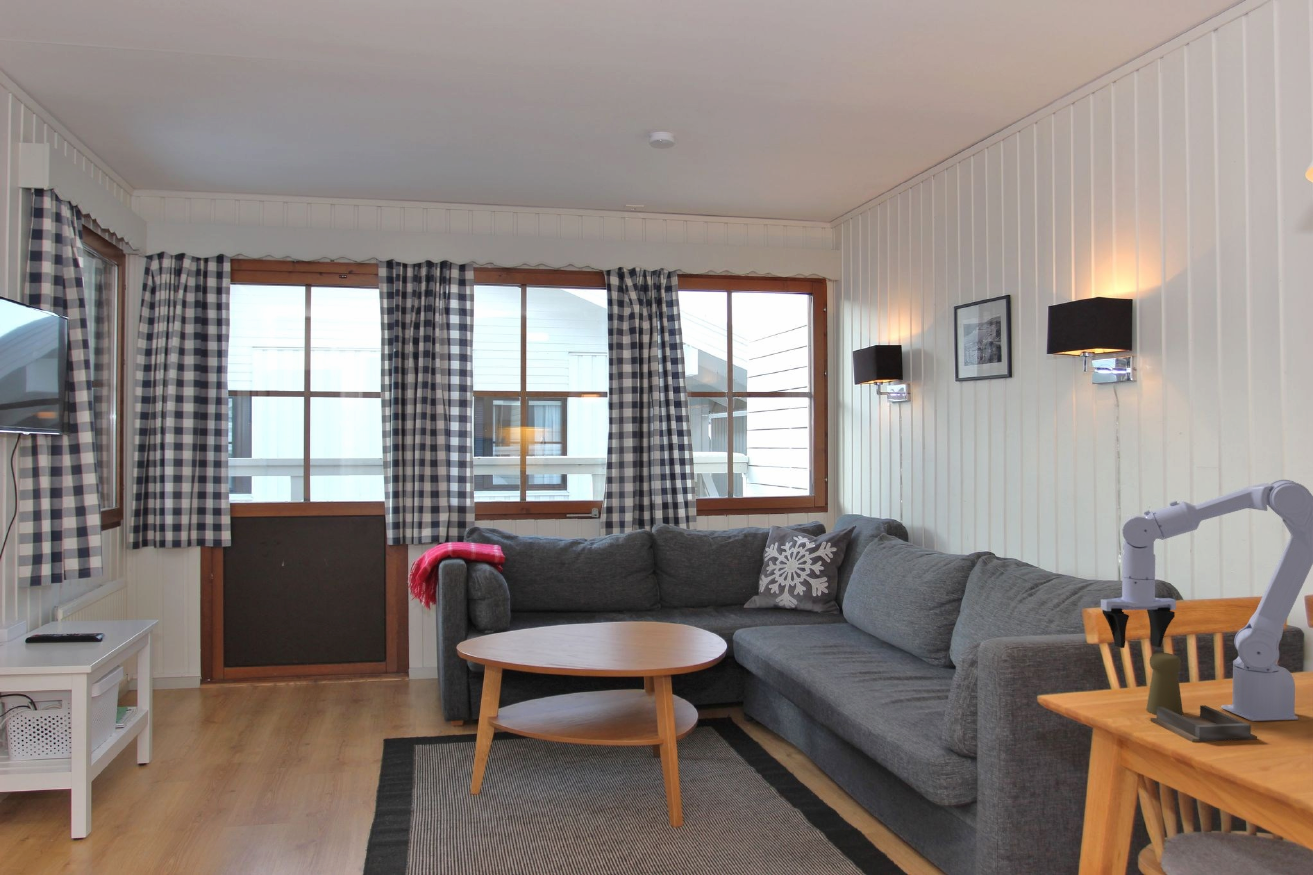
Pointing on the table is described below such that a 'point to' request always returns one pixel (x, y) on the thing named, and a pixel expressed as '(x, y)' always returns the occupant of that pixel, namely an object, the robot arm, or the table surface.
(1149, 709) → the olive rounded tapered post
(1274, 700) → the robot arm
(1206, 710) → the shaker socket
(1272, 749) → the table surface
